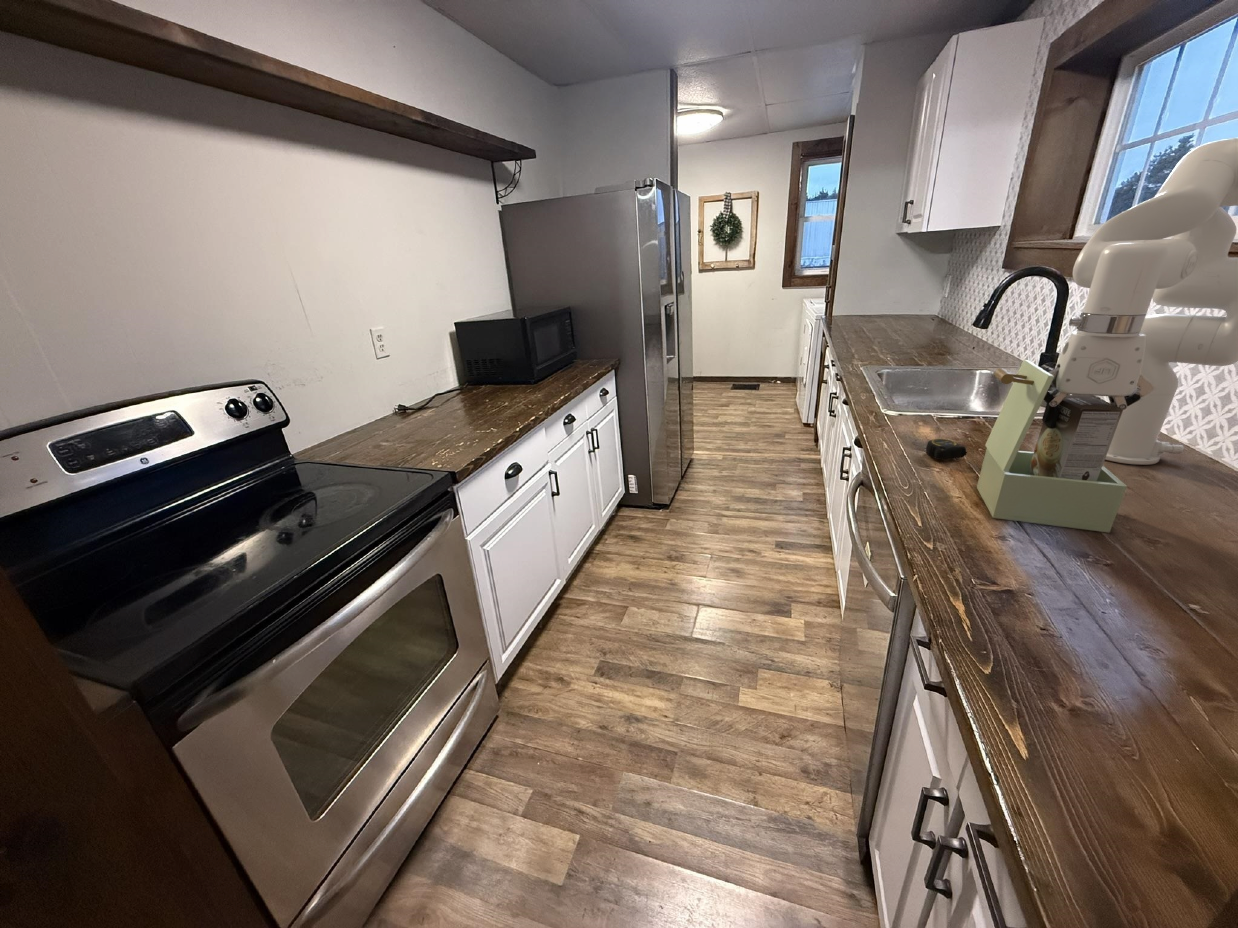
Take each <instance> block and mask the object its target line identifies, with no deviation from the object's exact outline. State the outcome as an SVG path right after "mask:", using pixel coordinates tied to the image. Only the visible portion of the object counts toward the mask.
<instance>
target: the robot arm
mask: <svg viewBox="0 0 1238 928" xmlns="http://www.w3.org/2000/svg"><path fill="white" fill-rule="evenodd" d="M1237 206H1238V137H1232V138H1225V139H1219V140H1215V141H1214V140H1213V141H1210V142H1207V143H1203V144H1201V145H1199V146H1197V147H1195V148H1193V149H1191V150H1190V151H1189V152H1187V153H1186V154H1185V155H1184V156H1183V157H1181V159H1180V160H1179V161H1178V162H1177V164H1176V165H1175V167H1174V168H1173V169H1172V171H1171V172H1170V174H1169V175H1168V177H1167V178H1166V179H1165V181H1164V182H1163V184H1162V185H1161V187H1160V188H1159V189H1158V191H1157V192H1156V194H1155V195H1154V196H1153V197H1151V198H1149V199H1147V200H1145V201H1142V202H1140V203H1138V204H1136V205H1134V206H1132V207H1130V208H1128V209H1126V210H1124V211H1122V212H1120V213H1118V214H1116V215H1115V216H1112V217H1110V219H1108V220H1106V221H1105V222H1103V224H1101V225H1100V226H1099V227H1098V228H1097V229H1096V230H1095V231H1094V232H1093V234H1092V235H1091V236H1090V238H1089V240H1088V241H1087V242H1086V243H1085V244H1084V245H1083V248H1082V249H1081V251H1080V252H1079V254H1078V256H1077V258H1076V260H1075V262H1074V265H1073V268H1072V280H1073V281H1074V283H1075V284H1076V285H1077V286H1079V287H1081V288H1084V289H1089V291H1088V294H1087V297H1086V301H1085V305H1084V308H1083V311H1082V312H1081V313H1080V315H1079V316H1077V317H1070V318H1069V320H1068V326H1069V327H1075V329H1076V331H1072V332H1071V333H1070V335H1069V337H1068V338H1067V341H1066V343H1065V345H1064V346H1063V348H1062V350H1061V351H1060V355H1059V357H1058V359H1057V362H1056V364H1055V366H1054V368H1053V369H1052V370H1049V371H1047V372H1048V373H1050V374H1051V375H1053V376H1054V378H1053V381H1052V383H1051V385H1050V386H1052V387H1053V388H1054V389H1053V390H1052V391H1051V392H1050V391H1049V390H1048V391H1047V393H1046V395H1045V397H1044V399H1043V401H1044V402H1045V403H1046V405H1045V409H1044V411H1043V415H1042V419H1041V420H1042V423H1043V422H1044V424H1045V425H1046V426H1047V427H1048V428H1049V429H1053V428H1055V426H1056V423H1057V419H1058V416H1059V413H1060V410H1061V408H1060V407H1059V403H1060V402H1061V401H1062V400H1063V399H1064V398H1065V397H1066V396H1067V395H1089V396H1094V397H1107V398H1108V403H1110V404H1112V405H1114V406H1117V407H1119V408H1121V409H1123V412H1122V415H1121V417H1120V420H1119V423H1118V425H1117V428H1116V431H1115V433H1114V436H1113V439H1112V442H1111V444H1110V447H1109V450H1108V452H1107V455H1106V458H1105V461H1109V462H1114V463H1120V464H1126V465H1138V466H1140V465H1141V466H1148V465H1155V464H1157V463H1159V462H1160V459H1161V456H1160V455H1159V454H1164V453H1169V454H1177V455H1181V454H1183V453H1184V451H1185V446H1184V445H1183V444H1170V442H1169V441H1160V440H1159V439H1158V438H1159V437H1160V433H1161V430H1162V428H1163V425H1164V423H1165V420H1166V417H1167V415H1168V413H1169V410H1170V407H1171V405H1172V402H1173V400H1174V397H1175V395H1176V392H1177V390H1178V387H1179V378H1178V376H1177V374H1176V373H1175V371H1174V369H1173V368H1172V366H1171V365H1170V363H1172V364H1173V363H1174V364H1177V363H1180V364H1190V365H1201V366H1213V367H1227V366H1231V365H1234V364H1237V362H1238V257H1237V256H1236V257H1229V252H1230V249H1231V247H1232V244H1233V241H1234V239H1235V237H1236V234H1237V225H1236V223H1235V221H1234V220H1233V218H1232V217H1231V215H1230V214H1229V213H1228V212H1227V211H1226V209H1224V207H1237ZM1170 237H1171V238H1170ZM1152 301H1153V302H1154V304H1157V305H1158V306H1162V307H1166V308H1167V307H1169V308H1184V309H1210V310H1213V309H1214V310H1222V311H1224V312H1225V313H1226V316H1220V315H1219V316H1217V315H1196V314H1177V313H1159V314H1158V313H1157V314H1150V315H1147V314H1148V311H1149V307H1150V305H1151V302H1152Z"/></svg>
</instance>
